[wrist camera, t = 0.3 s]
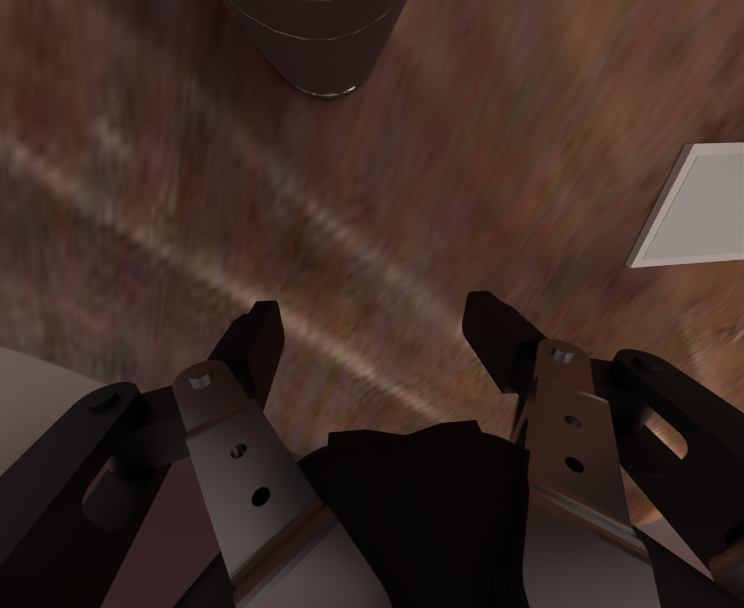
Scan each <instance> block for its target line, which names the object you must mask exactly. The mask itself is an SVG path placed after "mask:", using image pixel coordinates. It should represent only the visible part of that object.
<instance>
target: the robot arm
mask: <svg viewBox="0 0 744 608" xmlns="http://www.w3.org/2000/svg"><path fill="white" fill-rule="evenodd" d="M222 1H223V2H224V3H225V5H226V6H227V7H228V8H229V10H230V11H231V12H232V14H233V15H234V16H235V17H236V19H237V20H238V21H239V22H240V24H241V25H242V26H243V28H244V29H245V30H246V31H247V33H248V34H249V35H250V36H251V38H252V39H253V40H254V42H255V43H256V44H257V45H258V47H259V48H260V49H261V50H262V52H263V53H264V54H265V56H266V57H267V58H268V60H269V61H270V62H271V63H272V65H273V66H274V67H275V68H276V70H277V71H278V72H279V74H280V75H281V76H282V77H283V78H284V79H285V80H286V81H287V82H288V83H289V84H290V85H291V86H293V87H294V88H296V89H297V90H299V91H300V92H302V93H304V94H306V95H309V96H311V97H314V98H318V99H327V100H329V99H336V98H341V97H343V96H346V95H348V94H350V93H352V92H353V91H354V90H356V89H357V88H358V87H360V86H361V85H362V84H363V83H364V81H365V80H366V79H367V78H368V76H369V75H370V74H371V72H372V70H373V68H374V66H375V64H376V62H377V60H378V58H379V56H380V55H381V53H382V51H383V49H384V47H385V45H386V43H387V40H388V38H389V36H390V34H391V32H392V30H393V28H394V26H395V24H396V22H397V20H398V18H399V16H400V14H401V12H402V10H403V8H404V6H405V3H406V1H407V0H222ZM462 331H463V334H464V337H465V338H466V340H467V341H468V343H469V344H470V346H471V347H472V349H473V350H474V352H475V353H476V355H477V356H478V358H479V359H480V361H481V362H482V364H483V365H484V367H485V368H486V370H487V371H488V373H489V374H490V376H491V377H492V379H493V380H494V382H495V383H496V385H497V386H498V388H499V389H500V391H501V392H502V394H508V393H517V394H518V396H519V397H518V400H517V402H516V407H515V412H514V418H513V423H512V428H511V434H510V439H509V441H508V440H506V439H503V438H501V437H498V436H495V435H491V434H488V433H483V432H482V431H481V429H480V427H479V425H478V423H477V421H476V420H470V421H459V422H447V423H440V424H437V425H434V426H431V427H428V428H426V429H423V430H420V431H417V432H414V433H412V434H408V435H399V434H393V433H386V432H379V431H373V430H366V429H365V430H354V431H342V432H330V433H329V434H328V445H327V446H324V447H322V448H319V449H317V450H315V451H313V452H311V453H310V454H308V455H307V456H305V457H304V458H302V459H301V460H300V461H298V462H297V463H296V462H295V460H294V459H293V457H292V456H291V454H290V453H289V451H288V450H287V448H286V447H285V445H284V444H283V442H282V441H281V439H280V437H279V436H278V434H277V433H276V431H275V430H274V428H273V427H272V425H271V424H270V422H269V421H268V419H267V418H266V416H265V415H264V413H263V410H264V407H265V404H266V401H267V398H268V395H269V392H270V389H271V385H272V382H273V379H274V376H275V373H276V370H277V367H278V364H279V360H280V357H281V354H282V351H283V348H284V341H285V337H284V330H283V325H282V320H281V315H280V310H279V305H278V303H277V301H276V300H274V301H257V302H256V303H255V304H254V306H253V307H252V309H251V311H250V312H249V314H243V315H241V316H240V317H238V318H237V319H236V320H234V321H233V322H232V324H231V325H230V327H229V328H228V329H227V331H226V332H225V334H224V335H223V338H221V340H220V341H219V343H218V344H217V346H216V347H215V349H214V350H213V352H212V353H211V355H210V356H209V358H208V359H207V360H206V361H203V362H200V363H197V364H195V365H192V366H190V367H189V368H187V369H185V370H184V371H182V372H181V373H180V374H179V375H178V376H177V377H176V378H175V380H174V382H173V384H172V385H171V386H168V387H164V388H160V389H157V390H153V391H149V392H146V393H142V394H141V392H140V391H139V389H138V388H137V386H136V385H135V384H133V383H130V382H120V383H115V384H110V385H107V386H104V387H102V388H100V389H97V390H95V391H93V392H91V393H89V394H88V395H86V396H85V397H83V398H81V399H80V400H79V401H77V402H76V403H75V404H74V405H73V406H72V407H71V408H70V409H69V410H68V411H67V412H66V413H65V414H64V415H63V416H62V417H60V418H59V419H58V420H57V422H55V423H54V424H53V425H52V427H50V428H49V429H48V430H47V431H46V432H45V433H44V434H43V435H42V436H41V437H40V438H39V439H38V440H37V441H36V442H35V443H34V444H33V445H32V446H31V447H30V448H29V449H28V450H27V451H26V452H25V453H24V454H23V455H22V456H21V457H20V458H19V459H18V460H17V461H16V462H15V463H14V464H13V465H12V466H11V467H10V468H9V469H8V470H7V471H6V472H5V473H4V474H2V476H0V608H100V607H101V605H102V603H103V601H104V598H105V597H106V595H107V593H108V591H109V589H110V587H111V585H112V583H113V581H114V578H115V577H116V575H117V572H118V571H119V569H120V567H121V565H122V563H123V561H124V559H125V557H126V555H127V553H128V551H129V548H130V547H131V545H132V543H133V541H134V539H135V537H136V535H137V533H138V531H139V529H140V527H141V525H142V523H143V521H144V519H145V517H146V515H147V513H148V510H149V509H150V507H151V505H152V503H153V501H154V499H155V497H156V495H157V493H158V491H159V489H160V487H161V485H162V483H163V481H164V479H165V477H166V475H167V473H168V471H169V469H170V467H171V465H172V463H173V462H175V461H178V460H180V459H183V458H186V457H189V456H191V458H192V461H193V465H194V468H195V471H196V474H197V477H198V480H199V483H200V487H201V490H202V493H203V496H204V499H205V502H206V505H207V509H208V512H209V515H210V518H211V521H212V524H213V527H214V530H215V534H216V536H217V539H218V543H219V546H220V549H221V551H220V552H219V553H218V554H217V555H216V557H215V558H214V559H213V560H212V561H211V562H210V564H209V565H208V566H207V567H206V568H205V570H204V571H203V572H202V573H201V574H200V576H199V577H198V578H197V579H196V580H195V581H194V583H193V584H192V585H191V586H190V588H189V589H188V590H187V591H186V592H185V593H184V595H183V596H182V597H181V598H180V599H179V601H178V602H177V603H176V604H175V605H174V606H173V608H744V413H743V412H741V411H740V410H738V409H737V408H735V407H734V406H732V405H731V404H729V403H728V402H726V401H725V400H723V399H722V398H720V397H719V396H717V395H716V394H714V393H713V392H711V391H710V390H708V389H707V388H705V387H704V386H702V385H701V384H700V383H698V382H697V381H695V380H694V379H692V378H691V377H689V376H688V375H686V374H685V373H683V372H682V371H680V370H679V369H677V368H676V367H674V366H673V365H671V364H670V363H668V362H667V361H665V360H663V359H661V358H659V357H657V356H655V355H652V354H649V353H646V352H643V351H639V350H633V349H622V350H620V351H618V352H617V354H616V355H615V357H614V359H613V361H605V360H598V359H591V358H589V356H588V355H587V353H586V352H584V351H583V350H582V349H581V348H579V347H577V346H576V345H573V344H571V343H569V342H566V341H562V340H558V339H548V338H547V337H545V336H544V335H543V334H542V333H541V332H540V331H539V330H538V329H537V328H535V327H534V326H533V325H532V324H531V323H530V322H529V321H528V322H527V320H526V319H525V318H524V317H523V316H521V315H520V313H519V312H518V311H516V310H515V309H514V308H513V307H511V306H509V305H507V304H505V303H503V302H502V301H499V300H498V299H497V298H496V297H495V296H494V295H493V294H492V293H491V292H490V291H472V292H469V294H468V296H467V300H466V305H465V311H464V316H463V321H462ZM654 411H655V412H656V413H658V414H659V415H660V416H661V417H662V418H663V419H664V420H666V421H667V422H668V423H669V424H670V425H671V426H672V427H674V428H675V429H676V430H677V431H678V432H679V433H680V434H681V435H682V436H683V437H684V439H685V441H686V443H687V446H688V452H687V454H686V455H685V456H684V458H683V459H682V460H681V459H680V458H679V457H678V456H677V455H676V454H675V453H674V452H673V451H672V450H671V449H670V448H669V447H668V446H667V445H666V444H664V443H663V442H662V441H661V440H660V439H659V438H658V437H657V436H656V435H655V434H654V433H653V432H652V431H651V430H650V429H649V428H648V427H647V426H646V425H645V423H646V422H647V420H648V419H649V418H650V416H651V415H652V414H653V412H654ZM104 464H105V465H106V466H107V468H108V470H107V471H106V473H105V474H104V475H103V477H102V478H101V480H100V481H99V483H98V484H97V485H96V487H95V488H94V490H93V491H92V493H91V494H90V495H89V497H88V498H87V500H86V501H85V503H84V504H83V505H82V501H83V497H84V494H85V492H86V490H87V488H88V487H89V485H90V484H91V482H92V481H93V480H94V478H95V477H96V475H97V474H98V473H99V471H100V470H101V469H102V467H103V466H104ZM620 465H621V466H622V467H623V468H624V470H625V471H626V472H627V473H628V474H629V476H630V477H631V478H632V479H633V480H634V482H635V483H636V484H637V485H638V486H639V488H640V489H641V490H642V491H643V492H644V494H645V495H646V496H647V497H648V498H649V500H650V501H651V502H652V503H653V504H654V506H655V507H656V508H657V509H658V510H659V512H660V513H661V514H662V515H663V516H664V518H665V519H666V520H667V521H668V522H669V524H670V525H671V526H672V527H673V528H674V529H675V530H676V532H677V533H678V534H679V536H680V537H681V538H682V539H683V540H684V542H685V543H686V544H687V545H688V546H689V548H690V549H691V550H692V551H693V552H694V553H695V555H696V556H697V557H698V558H699V559H700V561H701V562H702V563H703V564H704V565H705V567H706V568H707V569H708V570H709V571H710V573H711V575H712V577H713V579H714V581H712V580H711V579H710V578H708V577H707V576H705V575H703V574H702V573H701V572H700V571H698V570H697V569H695V568H694V567H692V566H691V565H689V564H688V563H687V562H685V561H684V560H682V559H681V558H679V557H678V556H677V555H675V554H674V553H672V552H671V551H669V550H668V549H667V548H665V547H664V546H662V545H661V544H659V543H658V542H656V541H655V540H654V539H652V538H651V537H649V536H648V535H646V534H645V533H644V532H642V531H641V530H639V529H638V528H636V527H635V526H634V525H632V524H631V520H630V515H629V509H628V504H627V498H626V493H625V488H624V482H623V477H622V472H621V466H620Z"/></svg>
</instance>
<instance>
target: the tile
mask: <svg viewBox="0 0 744 608" xmlns="http://www.w3.org/2000/svg"><path fill="white" fill-rule="evenodd" d="M740 259H744V142H733V143H701V144H685V145H684V147H683V149H682V151H681V153H680V155H679V157H678V159H677V161H676V163H675V165H674V167H673V169H672V171H671V173H670V175H669V177H668V179H667V181H666V183H665V185H664V187H663V189H662V191H661V193H660V195H659V197H658V199H657V201H656V203H655V205H654V207H653V209H652V211H651V213H650V215H649V217H648V219H647V221H646V223H645V225H644V227H643V229H642V231H641V233H640V235H639V237H638V239H637V241H636V243H635V245H634V247H633V249H632V251H631V253H630V255H629V257H628V259H627V261H626V263H625V266H628V267H630V268H633V267H647V266H660V265H673V264H687V263H700V262H713V261H727V260H740Z"/></svg>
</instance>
